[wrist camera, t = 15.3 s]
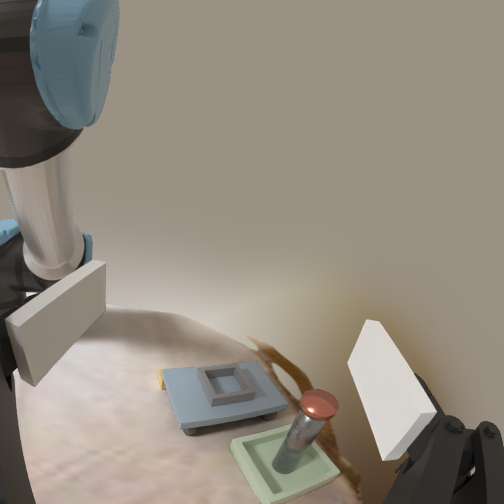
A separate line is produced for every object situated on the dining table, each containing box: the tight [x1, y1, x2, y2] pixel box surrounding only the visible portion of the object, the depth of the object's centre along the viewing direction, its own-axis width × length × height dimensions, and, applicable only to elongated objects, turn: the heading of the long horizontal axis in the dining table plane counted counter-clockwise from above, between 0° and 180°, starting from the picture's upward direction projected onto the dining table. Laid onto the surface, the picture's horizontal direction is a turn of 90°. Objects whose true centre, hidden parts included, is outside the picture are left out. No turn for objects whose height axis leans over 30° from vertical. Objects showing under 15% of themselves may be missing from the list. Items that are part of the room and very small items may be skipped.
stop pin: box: [272, 389, 338, 474], centre depth 32 cm, size 5×5×15 cm
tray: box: [229, 423, 340, 504], centre depth 34 cm, size 12×12×3 cm
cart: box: [158, 361, 288, 435], centre depth 45 cm, size 15×18×7 cm
